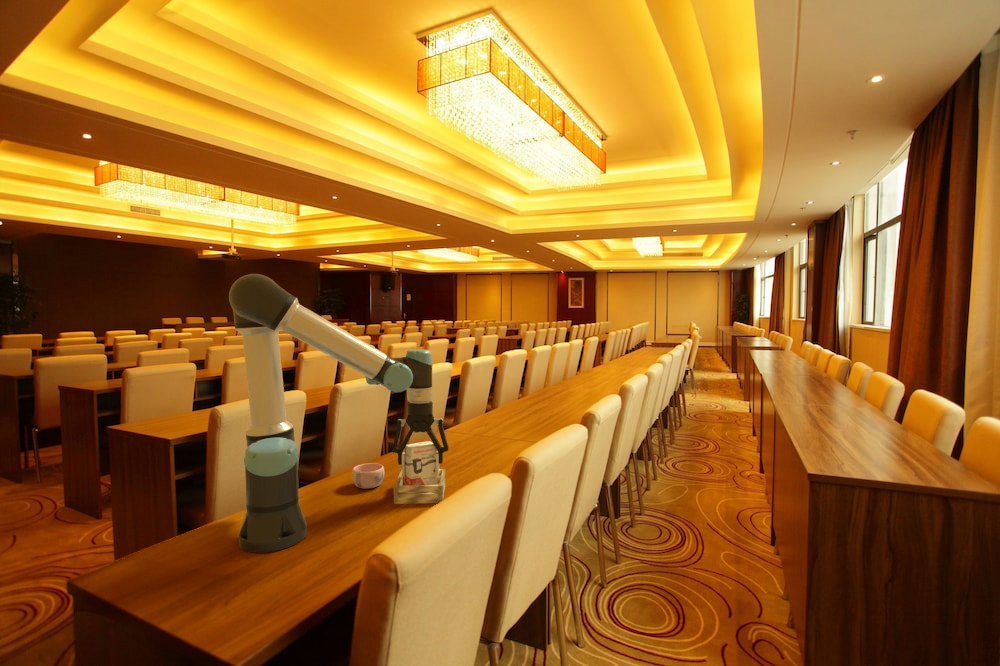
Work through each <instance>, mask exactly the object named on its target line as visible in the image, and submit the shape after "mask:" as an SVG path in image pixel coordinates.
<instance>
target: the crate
mask: <svg viewBox="0 0 1000 666" xmlns="http://www.w3.org/2000/svg"><path fill="white" fill-rule="evenodd" d="M446 485H447V483H446V468H439V476H437V482H436V483H431V484H426V485H407V484H405V476H402V469H401V470H400V472H399V474H398V477H397V478H396V482H395V483H394V485H393V504H394V505H401V504H402V505H408V504H409V505H411V504H415V505H416V504H440V503H439V502H440V501H442V500H443V501H444V498H445V490H446Z"/></svg>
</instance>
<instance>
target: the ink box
mask: <svg viewBox="0 0 1000 666" xmlns="http://www.w3.org/2000/svg"><path fill="white" fill-rule="evenodd" d="M404 452H405V484H407V485H426V484H431V483H436V482H437V477H438V476H436V452H437V449H436V447H435V446H434V444H433V442H432V441H429V440H428V441H426V440H425V441H421V442H416V443H409V444H408V443H407V444H406V446H405V448H404Z"/></svg>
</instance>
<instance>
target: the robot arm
mask: <svg viewBox="0 0 1000 666" xmlns="http://www.w3.org/2000/svg"><path fill="white" fill-rule="evenodd" d="M228 299H229V304H230V306H231V309H232V312H233V321H234V330H235V331H236V332H238V333H239V334H240V335H241V336H242V344H243V345H242V346H243V353H244V355H243V356H244V363H245V364H244V366H245V372H246V373H245V374H246V382H247V385H246V387H247V392H248V404H249V412H250V413H249V414H250V423H251V425H250V427H249V428H248V429H247V430H246V431H245V438H246V449H245V453H244V457H243V465H244V467H245V502H246V503H245V504H246V505H245V506H246V511H245V514H244V519H243V521H242V524H241V528H240V531H239V532H238V533H239V534H238V545H239V546H238V547H239V548H240V549H241V550H243V551H245V552H249V553H256V554H258V553H259V554H261V553H270V552H276V551H280V550H284V549H287V548H290V547H292V546H294V545H297V544H298V543H300V542H301V541H303V540H304V539H305V537H306V536H307V535H308V523H307V520H306V518H305V514H304V513H303V510H302V507H301V506H300V498H299V497H300V494H299V492H300V491H299V450H298V445H297V443H296V442H295V441H296V440H295V438H296V437H295V432H294V431H295V429H294V424H293V423H291V422H290V421H288V420H287V411H286V410H287V408H286V397H285V389H284V379H283V369H282V356H281V346H280V344H281V343H280V335H279V334H280V331H283V332H285V333H286V334H288V335H290V336H292V337H293V338H295V339H297V340H298V341H299V340H300V341H301V342H303V343H304V344H305V345H308V346H309V347H312V348H314V349H316V350H318V351H319V352H321V353H323V354H324V355H327V356H328V357H330V358H332V359H334V360H335V361H338V362H339V363H341V364H343V365H345V366H347V367H348V368H351V369H352V370H354V371H356V372H358V373H360V374H361V375H362V376H365V377H364V378H365V382H366V383H367V384H368V385H371V386H372V385H374V386H375V385H376V386H379V385H381V386H383V387H385V388H386V389H387V390H389V391H391V392H393V393H402V392H405V391H406V395H407V396H406V400H407V401H408V402H407V403H406V404H407V406H406V407H407V408H406V409H407V411H406V412H407V415H406V418H398V419H397V421H396V428H397V429H396V431H395V436H394V441H393V444H392V448H391V453H395V454H397V464H398V465H400V466H401V470H402V476H405V446H406V445H408V442H409V441H410V438H411V437H412V435H413V433H415V434H417V433H426V434H427V436H428V437H429V438H430V440H431V442H432V443H433V444H434V446H435V447H436V476H437V477H440V475H439V469H440V465H442V464H443V462H444V453H445V452H448V451H449V447H450V446H449V442H448V439H447V435H446V432H445V429H444V419H443V417H440V418H435V417H434V415H433V404H434V403H433V402H432V400H433V356H432V352H431V351H430V350H429V349H409V350H407V351H406V354H405V356H403V357H393V356H390V355H388V354H386V353H385V352H383V351H381V350H380V349H378V348H377V347H374V346H373V345H371V344H369V343H367V342H366V341H364V340H362V339H361V338H359V337H357V336H355V335H353V334H352V333H350V332H349V331H346V330H345V329H343V328H342V327H340V326H338V325H336V324H334V323H333V322H331V321H330V320H327V319H326V318H324V317H322V316H320V314H318V313H315V312H314V311H312V310H311V309H309V308H307V307H304V306H303V305H301V304H300V303H299V300H298V297H296V296H294V295H293V294H291V293H289V292H287V291H286V290H285V289H284V288H282V287H281V286H280V285H279V284H277V283H276V282H275V281H274V280H273V279H272V278H270V277H268V276H266V275H265V274H264V275H263V274H259V273H250V274H246V275H243V276H241V277H239V278H237V280H235V282H234V283H232V285H231V287H230V289H229V293H228ZM434 423H435V425H436V426H437V427H438V428H437V429H438V432H439V436H440V439H441V443H442V445H441V443H440V441H439V440H438V437H437V436H436V435H435V433H434V431H433V428H432V425H433V424H434ZM405 424H407V426H408V427H409V429H408V430H409V431H408V432H407V434H406V436H405V438H404V439H403V441H402V443H401V445H400V447H398V446H399V443H400V438H401V434H402V430H403V427H405Z"/></svg>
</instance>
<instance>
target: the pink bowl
mask: <svg viewBox="0 0 1000 666" xmlns="http://www.w3.org/2000/svg"><path fill="white" fill-rule="evenodd" d="M384 478H385V467H384V465H382V464H380V463H376V462H370V463H369V462H368V463H362V464H358V465H355V466H354V467H353V468H352V470H351V479H352V482H353V483H354V485H355V486H356V487H357V488H359V489H373V488H375V487H379V486H380V485H381V484H382V483H383V480H384Z"/></svg>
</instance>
